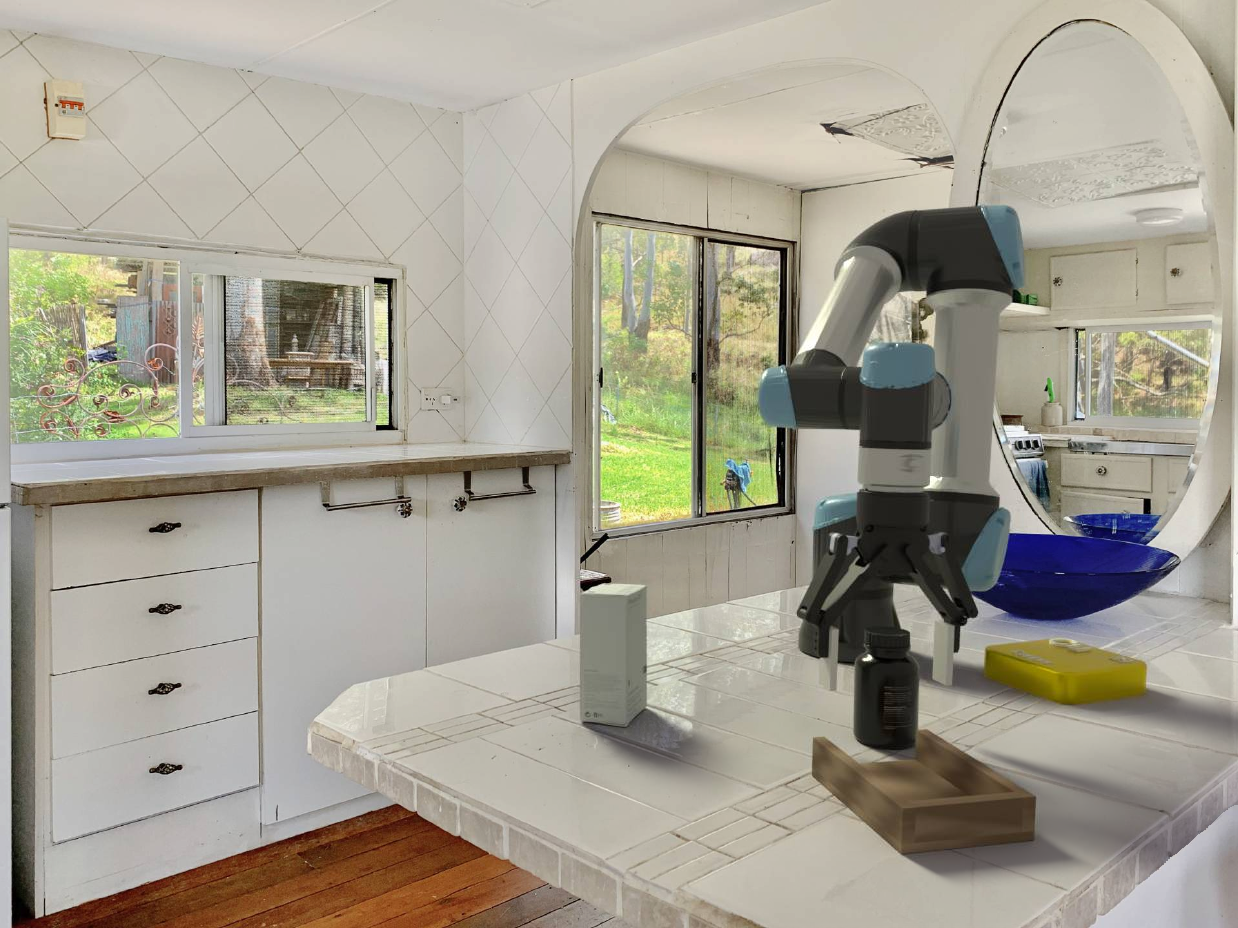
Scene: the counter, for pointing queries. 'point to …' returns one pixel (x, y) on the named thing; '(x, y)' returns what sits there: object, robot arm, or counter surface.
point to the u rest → (928, 796)
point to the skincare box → (613, 653)
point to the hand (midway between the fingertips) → (885, 685)
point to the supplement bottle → (886, 690)
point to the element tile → (1065, 671)
